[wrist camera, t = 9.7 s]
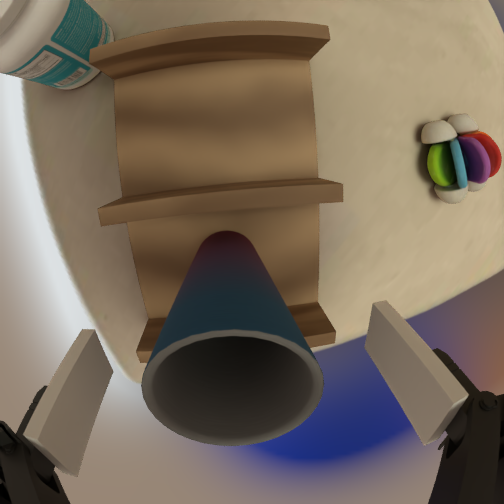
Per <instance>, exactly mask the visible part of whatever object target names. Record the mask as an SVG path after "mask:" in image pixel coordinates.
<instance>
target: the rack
mask: <svg viewBox="0 0 504 504" xmlns="http://www.w3.org/2000/svg"><path fill="white" fill-rule="evenodd" d="M329 40H330V34H329V28H328V26H327V25H319V24H310V23H300V22H286V21H229V22H214V23H204V24H195V25H187V26H181V27H174V28H169V29H163V30H158V31H153V32H148V33H144V34H140V35H136V36H132V37H128V38H124V39H121V40H117V41H114V42H110V43H107V44H104V45H101V46H98V47H95V48H92V49H90V56H89V64H90V65H92V66H94V67H95V68H97V69H98V70H100V71H101V72H103V73H105V74H106V75H108V76H109V77H111V78H112V79H114V101H115V126H116V141H117V153H118V163H119V173H120V181H121V189H122V196H123V197H122V198H120V199H118V200H115V201H113V202H111V203H109V204H107V205H104V206H102V207H100V208H98V214H99V220H100V225H101V226H107V225H113V224H120V223H127V227H128V233H129V238H130V243H131V248H132V253H133V258H134V263H135V267H136V271H137V276H138V280H139V284H140V288H141V292H142V296H143V300H144V304H145V307H146V311H147V315H148V318H149V319H148V322H147V324H146V327H145V329H144V332H143V335H142V337H141V340H140V342H139V345H138V348H137V350H136V353H137V356H138V358H139V361H140V363H148V361H149V358H150V356H151V353H152V351H153V349H154V346H155V344H156V342H157V339H158V337H159V334H160V332H161V330H162V328H163V325H164V323H165V321H166V318H167V316H168V314H169V312H170V309H171V307H172V305H173V303H174V300H175V298H176V296H177V294H178V292H179V289H180V287H181V285H182V283H183V281H184V279H185V276H186V274H187V272H188V270H189V268H190V266H191V264H192V262H193V259H194V257H195V255H196V253H197V251H198V249H199V247H200V245H201V244H202V242H203V241H204V240H205V239H206V238H207V237H208V236H210V235H212V234H214V233H216V232H219V231H227V230H228V231H235V232H238V233H240V234H242V235H244V236H245V237H246V238H248V239H249V240H250V241H251V243H252V244H253V246H254V248H255V249H256V251H257V253H258V255H259V257H260V258H261V260H262V262H263V264H264V266H265V267H266V269H267V271H268V273H269V275H270V276H271V278H272V280H273V282H274V284H275V285H276V287H277V289H278V291H279V293H280V295H281V296H282V298H283V300H284V302H285V304H286V305H287V307H288V309H289V311H290V313H291V314H292V316H293V318H294V320H295V322H296V324H297V325H298V327H299V329H300V331H301V333H302V334H303V336H304V338H305V340H306V342H307V344H308V345H309V347H310V348H311V347H317V346H322V345H328V344H333V343H335V337H336V331H335V329H334V327H333V326H332V324H331V322H330V321H329V319H328V318H327V316H326V314H325V313H324V311H323V309H322V308H321V306H320V305H319V303H318V279H319V203H334V202H343V184H341V183H337V182H333V181H329V180H325V179H321V178H318V161H317V143H316V127H315V114H314V102H313V92H312V82H311V73H310V64H309V60H310V59H311V58H312V57H313V56H314V55H315V54H316V53H317V52H318V51H319V50H320V49H321V48H322V47H323V46H324V45H325V44H326V43H327V42H328V41H329Z"/></svg>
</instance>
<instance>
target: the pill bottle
mask: <svg viewBox="0 0 504 504" xmlns="http://www.w3.org/2000/svg"><path fill="white" fill-rule="evenodd" d="M110 42H114V35H113V32H112V29H111V28H110V26H109V25H108V24H107V23H106V22H105V21H104V20H103V19H102V18H101V17H100V16H99V15H98V14H97V13H96V12H95V11H94V10H93V9H92V8H91V7H90V6H89V5H88V4H87V3H86V2H85V1H84V0H0V73H3V74H8V75H12V76H16V77H19V78H23V79H27V80H31V81H34V82H38V83H41V84H45V85H48V86H51V87H55V88H59V89H65V90H67V89H74V88H77V87H80V86H82V85H84V84H86V83H87V82H89V81H90V80H91V79H93V78H94V77H95V76H96V75H97V74H98V73H99V72H100V70H98V69H97V68H95V67H94V66H92V65H90V64H89V56H90V49H92V48H95V47H98V46H101V45H104V44H107V43H110Z"/></svg>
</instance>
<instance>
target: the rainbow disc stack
mask: <svg viewBox="0 0 504 504" xmlns="http://www.w3.org/2000/svg"><path fill="white" fill-rule="evenodd" d="M478 129H479V128H478V125H477V123H476V122H475V120H474V119H473V118H472V117H471V116H469V115H468V114H457V115H452V116H450V117H449V119H448V121H447V122H446V121H444V120H438V121H433V122H429V123H427V124H425V126H424V127H423V130H422V133H421V140H422V143H425V144H430V143H435V144H433V145H432V146H431V147H430V150H429V154H428V160H427V165H428V171H429V174H430V176H431V178H432V179H433V181H434V182H435V183H437V184H436V185H435V187H434V189H435V192H436V194H437V195H438V197H439V198H440V199H441V200H442V201H444V202H446V203H449V204H456V203H459V202H461V201H462V200H463V199H464V198H465V197H466V195H467V192H468V191H471V192H475V191H479V190H481V189H482V188H483V187H484V186H485V184H486V182H487V179H488V178H489V177H492V176H494V175H495V174H496V173H497V172H498V170H499V168H500V166H501V153H500V150H499V148H498V146H497V144H496V143H495V142H494V140H492V138H491V137H490V136H489V135H487V134H486V133H484V132H480V131H478ZM457 134H458V135H457Z"/></svg>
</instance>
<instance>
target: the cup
mask: <svg viewBox="0 0 504 504" xmlns="http://www.w3.org/2000/svg"><path fill="white" fill-rule="evenodd" d="M323 386H324V380H323V373H322V370H321V368H320V366H319V364H318V362H317V360H316V358H315V356H314V355H313V353H312V351H311V349H310V347H309V345H308V344H307V342H306V340H305V338H304V336H303V334H302V333H301V331H300V329H299V327H298V325H297V324H296V322H295V320H294V318H293V316H292V314H291V313H290V311H289V309H288V307H287V305H286V304H285V302H284V300H283V298H282V296H281V295H280V293H279V291H278V289H277V287H276V285H275V284H274V282H273V280H272V278H271V276H270V275H269V273H268V271H267V269H266V267H265V266H264V264H263V262H262V260H261V258H260V257H259V255H258V253H257V251H256V249H255V248H254V246H253V244H252V243H251V241H250V240H249V239H248V238H246V237H245V236H244V235H242V234H240V233H238V232H235V231H228V230H227V231H219V232H216V233H214V234H212V235H210V236H208V237H207V238H206V239H205V240H204V241H203V242H202V244H201V245H200V247H199V249H198V251H197V253H196V255H195V257H194V259H193V262H192V264H191V266H190V268H189V270H188V272H187V274H186V276H185V279H184V281H183V283H182V285H181V287H180V289H179V292H178V294H177V296H176V298H175V300H174V303H173V305H172V307H171V309H170V312H169V314H168V316H167V318H166V321H165V323H164V325H163V328H162V330H161V332H160V334H159V337H158V339H157V342H156V344H155V346H154V349H153V351H152V353H151V356H150V358H149V361H148V363H147V366H146V368H145V371H144V373H143V378H142V385H141V387H142V393H143V398H144V400H145V402H146V405H147V407H148V409H149V410H150V411H151V412H152V414H153V415H154V416H155V418H156V419H158V420H159V421H160V422H161V423H162V424H163V425H164V426H166V427H167V428H169V429H170V430H172V431H174V432H175V433H177V434H179V435H182V436H184V437H186V438H189V439H191V440H195V441H199V442H202V443H207V444H213V445H223V446H239V445H250V444H254V443H260V442H264V441H267V440H270V439H274V438H276V437H279V436H281V435H283V434H285V433H287V432H289V431H291V430H292V429H294V428H295V427H297V426H298V425H300V424H301V423H302V422H303V421H304V420H306V419H307V418H308V417H309V416H310V415H311V413H312V412H313V411H314V410H315V408H316V407H317V405H318V403H319V401H320V399H321V397H322V392H323Z"/></svg>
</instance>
